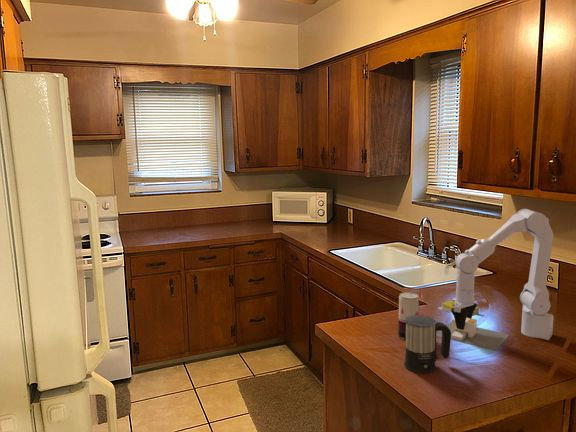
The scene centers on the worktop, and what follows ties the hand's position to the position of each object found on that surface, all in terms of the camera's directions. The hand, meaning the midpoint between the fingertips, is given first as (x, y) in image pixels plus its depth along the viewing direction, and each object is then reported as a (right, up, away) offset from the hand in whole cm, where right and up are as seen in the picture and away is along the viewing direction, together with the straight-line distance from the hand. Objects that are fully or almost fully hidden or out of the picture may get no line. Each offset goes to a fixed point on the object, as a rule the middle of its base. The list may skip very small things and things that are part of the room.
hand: (463, 326), depth 163 cm
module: (0, -3, 0) cm, 3 cm away
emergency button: (+7, 0, +24) cm, 25 cm away
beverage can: (-19, -4, +1) cm, 20 cm away
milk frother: (-20, -7, -17) cm, 27 cm away
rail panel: (+2, -4, -1) cm, 5 cm away
